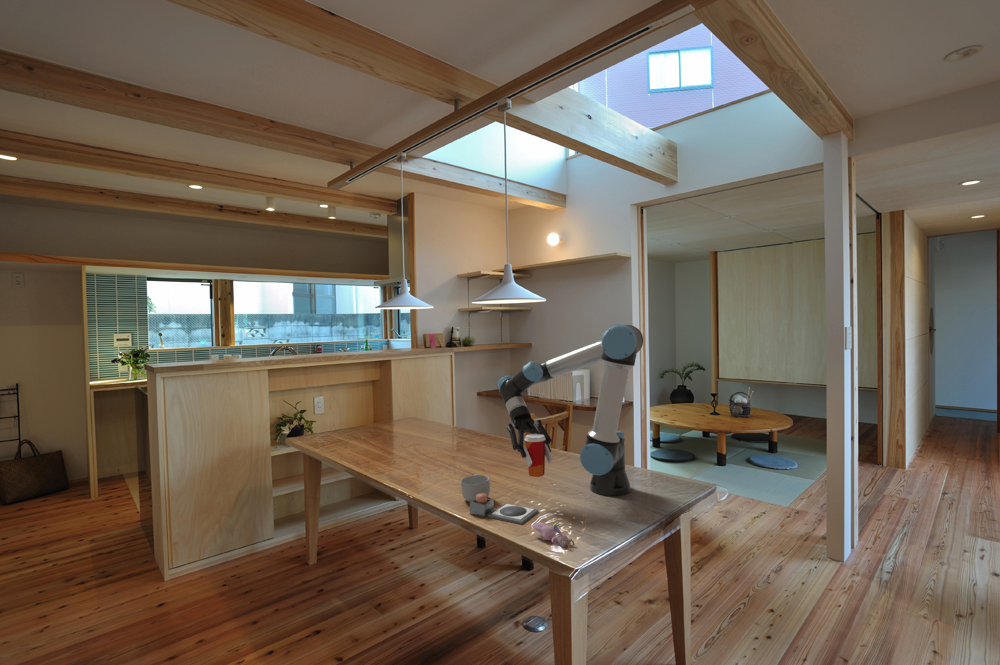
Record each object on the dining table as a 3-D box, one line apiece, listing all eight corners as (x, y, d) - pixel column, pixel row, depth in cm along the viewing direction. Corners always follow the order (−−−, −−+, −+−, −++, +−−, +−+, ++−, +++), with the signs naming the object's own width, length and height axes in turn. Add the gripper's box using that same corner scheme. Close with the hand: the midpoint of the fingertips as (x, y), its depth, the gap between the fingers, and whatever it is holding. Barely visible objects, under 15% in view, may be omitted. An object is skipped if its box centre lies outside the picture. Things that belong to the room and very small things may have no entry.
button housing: (494, 511, 165) (493, 499, 165) (484, 517, 159) (484, 505, 159) (479, 508, 168) (479, 496, 168) (470, 513, 163) (469, 502, 163)
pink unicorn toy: (577, 549, 138) (538, 526, 148) (579, 529, 137) (540, 508, 147) (564, 556, 133) (525, 533, 144) (566, 537, 132) (527, 514, 143)
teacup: (486, 506, 170) (486, 483, 170) (457, 504, 172) (457, 482, 172) (494, 492, 183) (493, 472, 183) (467, 491, 185) (466, 471, 185)
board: (538, 511, 163) (538, 508, 163) (521, 524, 153) (521, 520, 153) (506, 505, 170) (505, 502, 170) (487, 517, 159) (487, 513, 159)
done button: (489, 502, 164) (489, 494, 164) (483, 506, 161) (483, 497, 161) (480, 501, 166) (480, 492, 166) (474, 504, 163) (473, 496, 163)
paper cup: (534, 470, 175) (532, 432, 175) (551, 473, 170) (549, 434, 170) (521, 475, 169) (519, 436, 169) (539, 479, 164) (537, 439, 164)
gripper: (538, 414, 188) (561, 464, 173) (491, 420, 179) (511, 473, 165) (544, 402, 183) (569, 452, 168) (496, 407, 175) (517, 461, 160)
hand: (540, 462), depth 167 cm, fingers closed on paper cup, 8 cm apart
